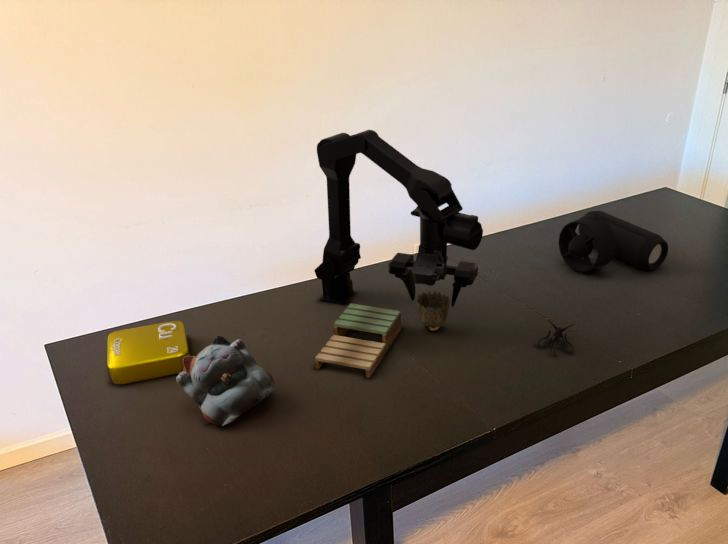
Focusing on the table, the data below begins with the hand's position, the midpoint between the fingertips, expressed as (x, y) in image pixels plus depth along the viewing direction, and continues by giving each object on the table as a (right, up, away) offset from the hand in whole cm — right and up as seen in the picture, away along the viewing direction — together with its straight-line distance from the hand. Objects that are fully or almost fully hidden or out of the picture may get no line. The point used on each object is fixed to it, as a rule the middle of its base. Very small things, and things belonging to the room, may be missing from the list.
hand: (432, 303), depth 146 cm
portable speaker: (+52, +16, +40) cm, 67 cm away
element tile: (-59, -13, -9) cm, 61 cm away
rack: (-16, -10, -3) cm, 19 cm away
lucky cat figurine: (-38, -21, -21) cm, 48 cm away
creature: (+27, -10, -1) cm, 29 cm away
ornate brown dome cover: (0, -6, +4) cm, 7 cm away
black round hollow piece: (+39, +11, +31) cm, 51 cm away
